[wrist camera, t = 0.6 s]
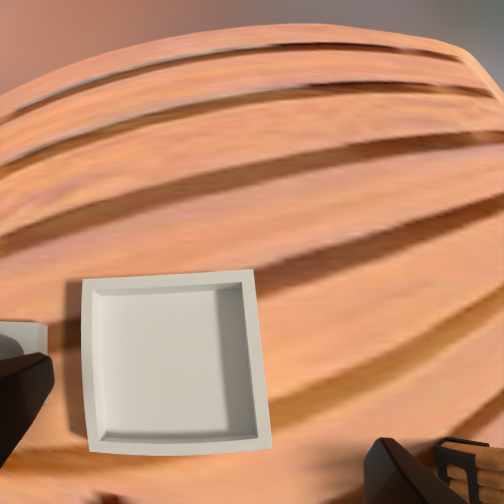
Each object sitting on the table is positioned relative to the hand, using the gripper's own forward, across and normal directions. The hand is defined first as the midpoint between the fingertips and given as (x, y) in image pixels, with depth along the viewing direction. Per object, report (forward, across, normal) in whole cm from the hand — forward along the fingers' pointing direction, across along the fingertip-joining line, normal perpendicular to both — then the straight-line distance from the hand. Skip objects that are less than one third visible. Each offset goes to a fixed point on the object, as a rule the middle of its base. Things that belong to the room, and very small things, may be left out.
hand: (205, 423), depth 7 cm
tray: (+12, +4, +7) cm, 15 cm away
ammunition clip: (+9, -21, +14) cm, 27 cm away
